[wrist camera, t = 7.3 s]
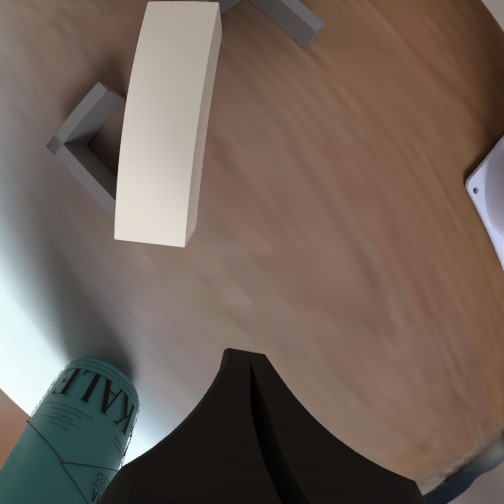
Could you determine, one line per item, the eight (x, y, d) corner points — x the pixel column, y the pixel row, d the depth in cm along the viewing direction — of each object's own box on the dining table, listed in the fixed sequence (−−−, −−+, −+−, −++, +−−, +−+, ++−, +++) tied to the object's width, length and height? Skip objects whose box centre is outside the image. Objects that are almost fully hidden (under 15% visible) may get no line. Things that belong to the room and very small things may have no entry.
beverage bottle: (89, 408, 23) (12, 603, 3) (57, 344, 21) (-76, 548, 2) (158, 408, 23) (109, 645, 3) (130, 338, 21) (15, 616, 2)
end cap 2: (313, 42, 16) (326, 24, 13) (258, 85, 17) (263, 72, 14) (246, -16, 15) (247, -40, 12) (190, 24, 15) (183, 3, 12)
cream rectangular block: (222, 34, 16) (218, 2, 12) (196, 227, 19) (184, 247, 15) (165, 32, 16) (148, 1, 11) (140, 221, 19) (114, 239, 15)
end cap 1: (182, 155, 18) (172, 154, 15) (131, 210, 18) (113, 219, 15) (117, 91, 16) (98, 81, 13) (70, 146, 17) (46, 146, 14)
